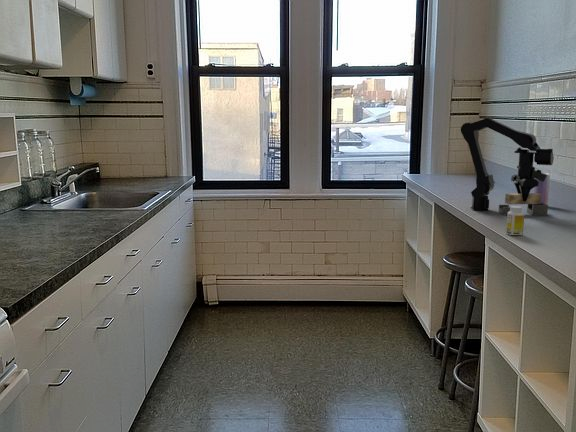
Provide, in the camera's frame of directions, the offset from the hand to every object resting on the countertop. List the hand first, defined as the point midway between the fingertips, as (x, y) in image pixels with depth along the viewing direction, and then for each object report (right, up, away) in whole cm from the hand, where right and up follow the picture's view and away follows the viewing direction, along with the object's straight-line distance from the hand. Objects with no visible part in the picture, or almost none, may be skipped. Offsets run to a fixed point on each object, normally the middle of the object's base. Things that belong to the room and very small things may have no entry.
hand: (523, 200), depth 248 cm
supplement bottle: (-19, -14, -39) cm, 46 cm away
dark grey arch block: (-7, -6, +2) cm, 9 cm away
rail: (0, -1, 0) cm, 1 cm away
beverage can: (+16, -2, +20) cm, 26 cm away
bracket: (+6, -6, 0) cm, 8 cm away
